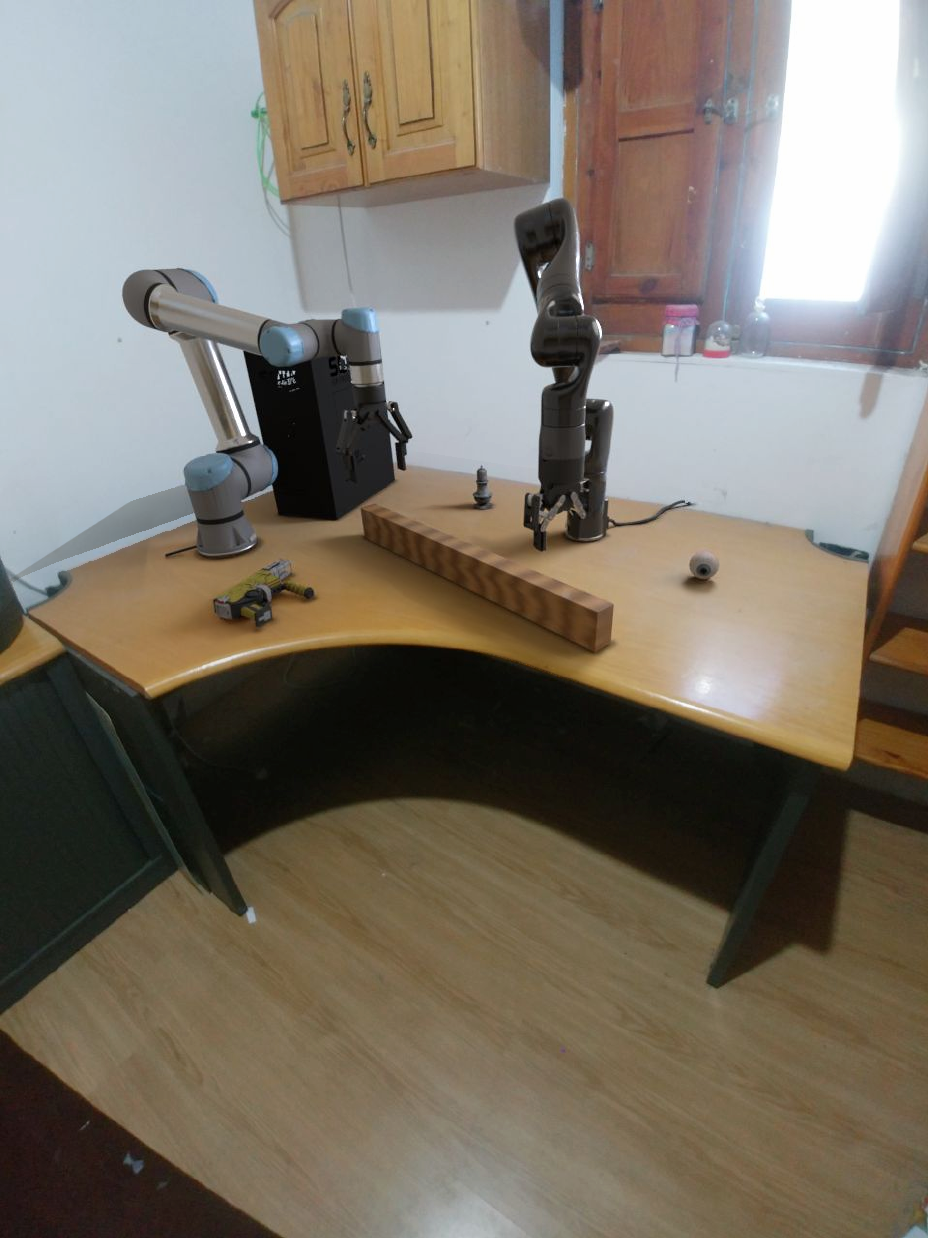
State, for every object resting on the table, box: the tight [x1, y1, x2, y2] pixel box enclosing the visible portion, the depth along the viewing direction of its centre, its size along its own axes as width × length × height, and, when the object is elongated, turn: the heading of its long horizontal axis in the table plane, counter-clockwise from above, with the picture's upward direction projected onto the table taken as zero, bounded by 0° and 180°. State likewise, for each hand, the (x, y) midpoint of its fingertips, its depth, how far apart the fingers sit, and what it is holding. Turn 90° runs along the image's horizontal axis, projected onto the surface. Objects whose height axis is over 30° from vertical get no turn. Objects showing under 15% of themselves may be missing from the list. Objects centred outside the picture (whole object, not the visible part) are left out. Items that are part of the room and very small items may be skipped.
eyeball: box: [688, 550, 720, 580], centre depth 128 cm, size 6×6×6 cm
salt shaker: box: [472, 464, 494, 510], centre depth 174 cm, size 6×6×12 cm
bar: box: [360, 503, 615, 653], centre depth 133 cm, size 78×4×8 cm, turn 40°
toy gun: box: [212, 558, 315, 628], centre depth 130 cm, size 5×24×15 cm
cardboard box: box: [242, 339, 396, 521], centre depth 180 cm, size 38×20×45 cm, turn 159°
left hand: (379, 475), depth 148 cm, fingers open, 13 cm apart
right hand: (558, 543), depth 107 cm, fingers open, 8 cm apart
